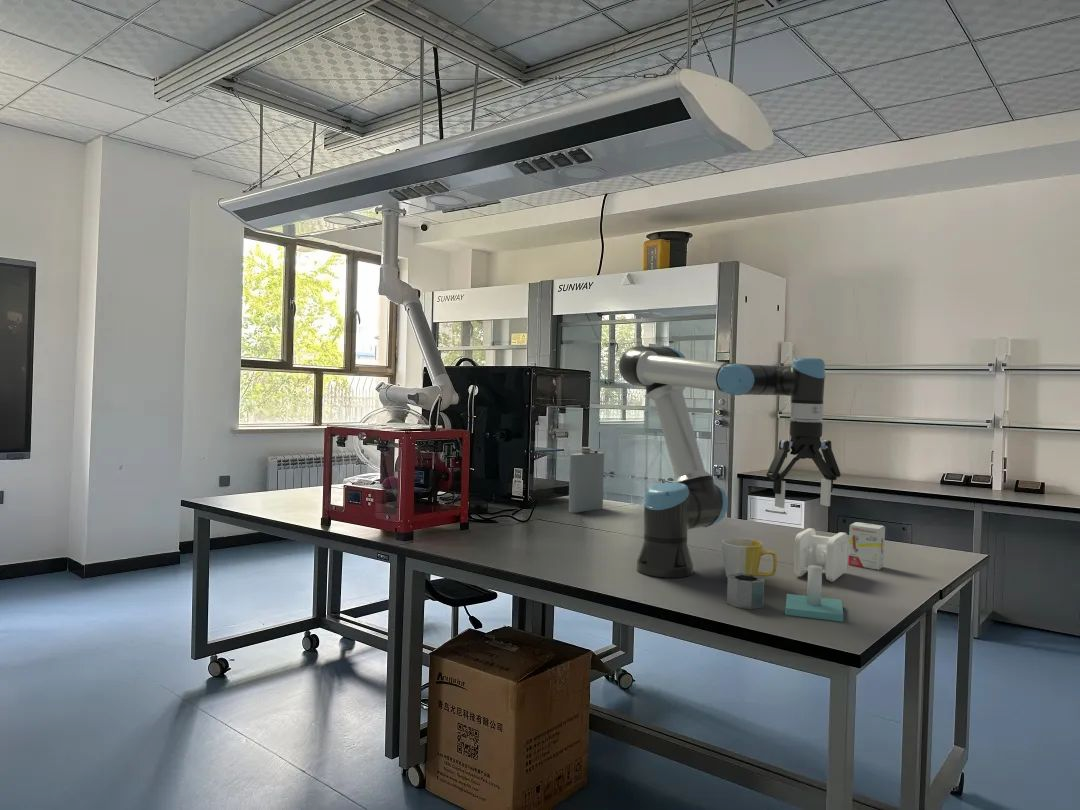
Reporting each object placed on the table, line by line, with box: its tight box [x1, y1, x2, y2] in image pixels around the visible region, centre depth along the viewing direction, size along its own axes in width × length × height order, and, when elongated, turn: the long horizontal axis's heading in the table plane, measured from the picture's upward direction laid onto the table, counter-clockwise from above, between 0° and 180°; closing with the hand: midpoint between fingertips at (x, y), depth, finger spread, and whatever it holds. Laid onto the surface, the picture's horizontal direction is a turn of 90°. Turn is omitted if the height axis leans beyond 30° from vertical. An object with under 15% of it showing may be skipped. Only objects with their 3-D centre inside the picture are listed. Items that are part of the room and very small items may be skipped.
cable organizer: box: [793, 527, 849, 583], centre depth 200 cm, size 15×11×12 cm
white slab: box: [568, 446, 605, 514], centre depth 295 cm, size 17×5×25 cm, turn 132°
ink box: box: [847, 521, 886, 570], centre depth 212 cm, size 9×5×12 cm, turn 49°
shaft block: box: [784, 565, 844, 623], centre depth 169 cm, size 12×12×10 cm
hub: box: [726, 573, 765, 610], centre depth 173 cm, size 8×8×6 cm
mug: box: [721, 537, 778, 579], centre depth 191 cm, size 14×10×10 cm
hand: (802, 506), depth 184 cm, fingers open, 13 cm apart
